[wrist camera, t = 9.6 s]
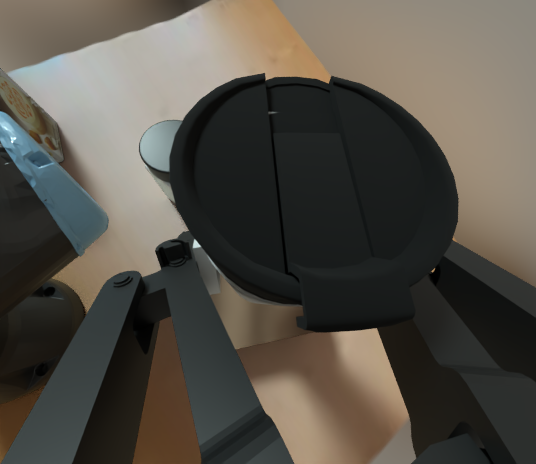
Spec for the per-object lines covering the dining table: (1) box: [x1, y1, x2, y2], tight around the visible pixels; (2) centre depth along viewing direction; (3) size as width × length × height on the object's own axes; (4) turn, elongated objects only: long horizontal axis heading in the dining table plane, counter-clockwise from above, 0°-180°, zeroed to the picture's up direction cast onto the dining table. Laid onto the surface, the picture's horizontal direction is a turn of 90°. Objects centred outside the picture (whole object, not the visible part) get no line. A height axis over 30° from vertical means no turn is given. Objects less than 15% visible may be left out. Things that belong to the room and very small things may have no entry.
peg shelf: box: [210, 274, 313, 349], centre depth 32 cm, size 16×16×6 cm
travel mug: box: [169, 73, 458, 332], centre depth 14 cm, size 6×7×20 cm
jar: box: [139, 120, 182, 203], centre depth 33 cm, size 9×8×12 cm
